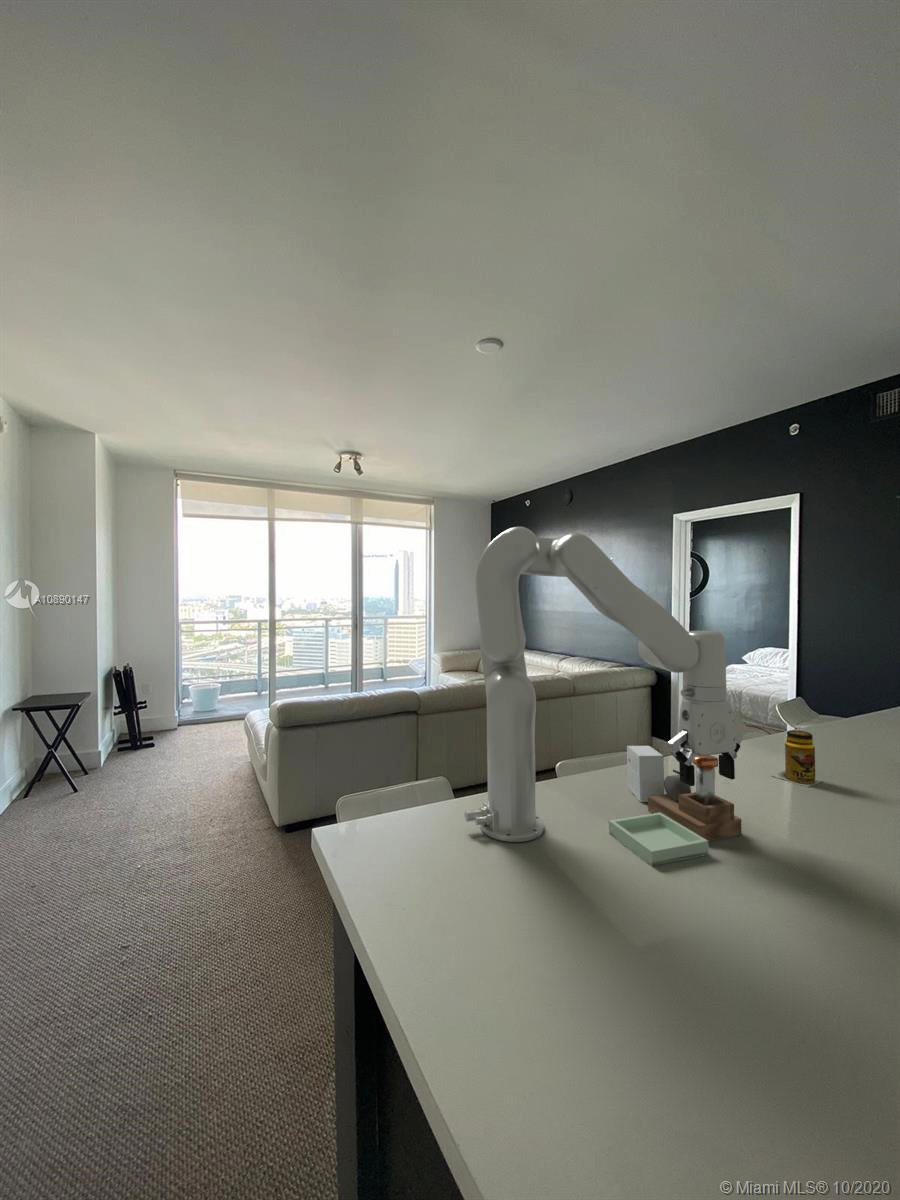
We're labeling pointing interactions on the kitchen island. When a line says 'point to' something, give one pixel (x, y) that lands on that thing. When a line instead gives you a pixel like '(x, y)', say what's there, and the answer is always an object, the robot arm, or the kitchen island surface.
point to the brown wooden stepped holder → (695, 811)
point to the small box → (645, 772)
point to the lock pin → (705, 779)
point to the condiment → (799, 759)
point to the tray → (658, 838)
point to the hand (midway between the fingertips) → (707, 780)
